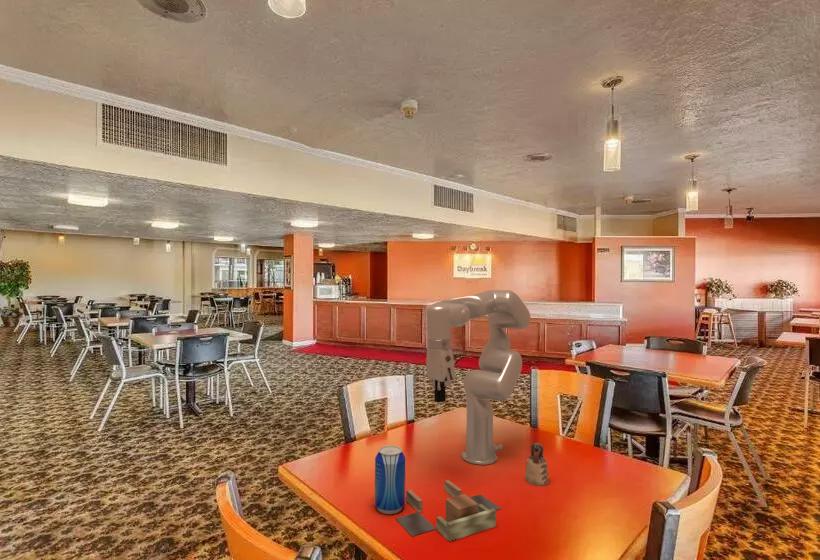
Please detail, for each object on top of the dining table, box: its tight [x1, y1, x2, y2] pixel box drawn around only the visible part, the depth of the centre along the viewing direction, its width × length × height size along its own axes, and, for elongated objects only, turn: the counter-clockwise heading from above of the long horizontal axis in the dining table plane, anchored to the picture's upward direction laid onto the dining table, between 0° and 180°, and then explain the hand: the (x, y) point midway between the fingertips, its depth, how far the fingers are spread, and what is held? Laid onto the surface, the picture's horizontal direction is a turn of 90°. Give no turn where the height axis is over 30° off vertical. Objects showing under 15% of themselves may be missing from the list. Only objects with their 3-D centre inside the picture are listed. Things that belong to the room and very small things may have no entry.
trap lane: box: [395, 479, 502, 542], centre depth 115 cm, size 28×22×4 cm
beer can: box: [374, 445, 406, 515], centre depth 118 cm, size 8×8×16 cm
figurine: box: [524, 442, 550, 487], centre depth 135 cm, size 7×7×12 cm
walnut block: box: [445, 493, 478, 522], centre depth 110 cm, size 6×6×6 cm
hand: (440, 401), depth 135 cm, fingers closed
